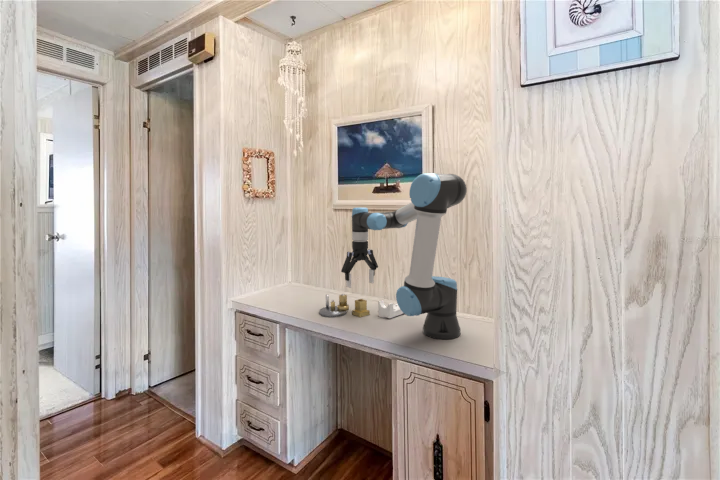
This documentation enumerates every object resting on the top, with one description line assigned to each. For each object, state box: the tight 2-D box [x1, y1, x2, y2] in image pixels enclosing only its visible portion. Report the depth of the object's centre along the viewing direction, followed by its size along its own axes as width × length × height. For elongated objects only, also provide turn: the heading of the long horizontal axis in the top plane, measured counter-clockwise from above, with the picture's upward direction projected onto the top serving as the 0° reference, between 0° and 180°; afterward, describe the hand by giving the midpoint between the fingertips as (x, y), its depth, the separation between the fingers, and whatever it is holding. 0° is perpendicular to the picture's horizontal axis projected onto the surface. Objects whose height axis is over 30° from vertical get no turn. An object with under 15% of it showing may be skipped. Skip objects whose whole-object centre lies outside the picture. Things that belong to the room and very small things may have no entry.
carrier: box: [319, 293, 350, 318], centre depth 180 cm, size 13×14×9 cm
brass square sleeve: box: [351, 298, 371, 318], centre depth 177 cm, size 6×6×7 cm
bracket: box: [377, 299, 404, 319], centre depth 176 cm, size 13×7×8 cm, turn 134°
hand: (360, 285), depth 176 cm, fingers open, 13 cm apart
